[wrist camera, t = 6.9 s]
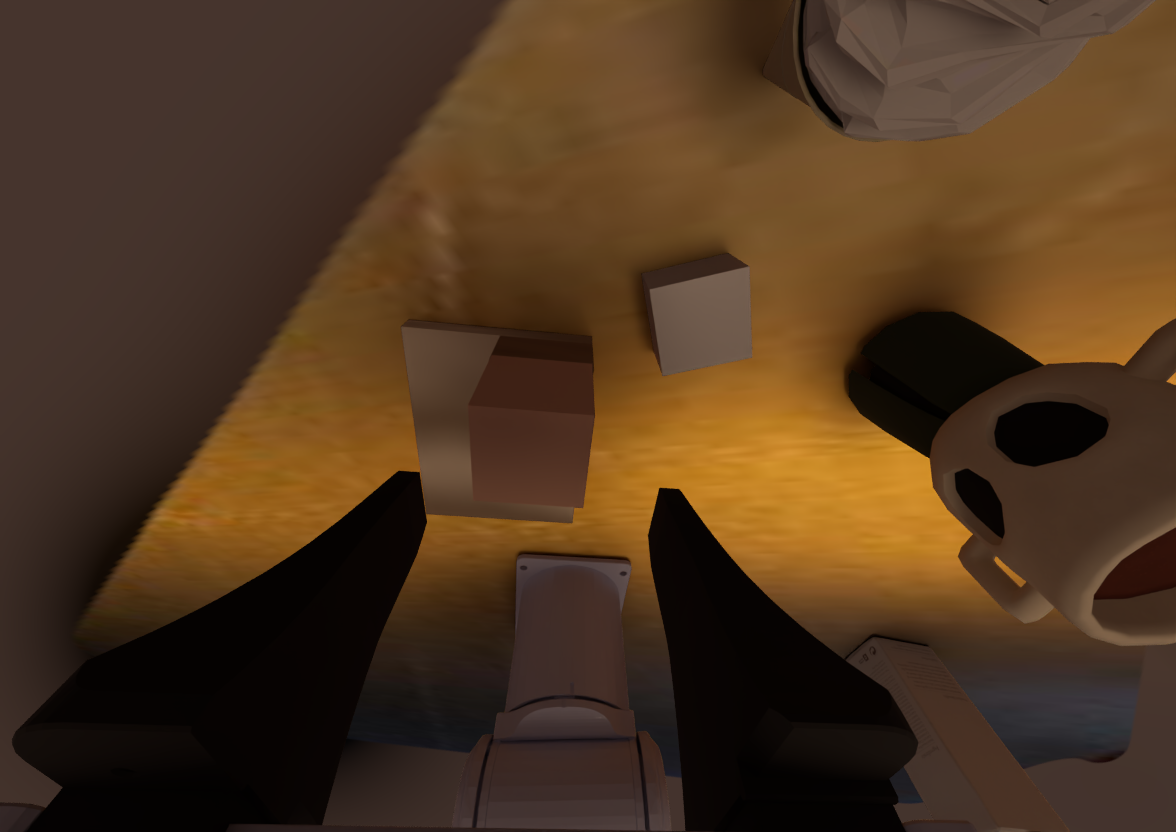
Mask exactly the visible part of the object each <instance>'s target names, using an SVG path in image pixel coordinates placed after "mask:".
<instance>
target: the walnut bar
mask: <svg viewBox="0 0 1176 832" xmlns="http://www.w3.org/2000/svg"><path fill="white" fill-rule="evenodd" d="M491 355H498V356H509V357H520V358H532V359H543V360H555V361H566V362H578V363H589V364H592V368H593V371H594V364H593V345H592V344H587V343H576V342H565V341H554V340H543V339H532V338H521V337H510V336H500V337H499V339H498V341H497V343H496V346H495V348H494V350H493V352H492V354H491ZM490 357H491V356H490ZM489 359H490V358H489Z"/></svg>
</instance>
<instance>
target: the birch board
mask: <svg viewBox="0 0 1176 832" xmlns="http://www.w3.org/2000/svg"><path fill="white" fill-rule="evenodd" d="M401 330H402V338H403V345H404V352H405V360H406V367H407V374H408V382H409V389H410V396H411V404H412V411H413V418H414V426H415V433H416V440H417V448H418V455H419V462H420V470H421V477H422V484H423V492H424V499H425V506H426V514H434V515H450V516H465V517H481V518H497V519H512V520H528V521H544V522H559V523H572V522H573V513H574V507H560V506H545V505H530V504H515V503H500V502H485V501H473V489H472V471H471V453H470V435H469V418H468V404H469V402H470V400H471V398H472V395H473V393H474V391H475V389H476V387H477V385H478V383H479V381H480V378H481V376H482V374H483V372H484V370H485V368H486V366H487V364H488V361H489V358H490V356H491V354H492V352H493V350H494V348H495V346H496V343H497V341H498V339H499V337H500V336H510V337H521V338H532V339H543V340H554V341H565V342H576V343H587V344H592V337H591V336H580V335H569V334H559V333H548V332H537V331H526V330H515V329H504V328H493V327H482V326H471V325H460V324H449V323H438V322H427V321H417V320H408V321H407V322H406V323H405V324H403V325H402V326H401Z"/></svg>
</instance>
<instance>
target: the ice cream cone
mask: <svg viewBox="0 0 1176 832" xmlns="http://www.w3.org/2000/svg"><path fill="white" fill-rule="evenodd" d="M1154 1H1156V0H793V2H792V4H791V7H790V9H789V11H788V13H787V16H786V18H785V20H784V22H783V25H782V27H781V29H780V32H779V34H778V36H777V38H776V41H775V43H774V45H773V47H772V50H771V52H770V54H769V56H768V59H767V61H766V63H765V65H764V68H763V75H764V77H765V78H767V79H768V80H770V81H771V82H773V83H774V84H776V85H777V86H779V87H780V88H782V89H783V90H785V91H786V92H788V93H789V94H791V95H792V96H793V97H795V98H797V99H799V100H801V101H802V102H804V103H805V104H807V105H808V106H810V107H811V108H812V110H813V111H814V113H815V114H816V115H817V116H818V117H819V118H820V119H821V120H822V121H823V122H824V123H825V124H826V125H827V126H828V127H829V128H831V129H833V130H834V131H836V132H838V133H839V134H841V135H843V136H846V137H849V138H852V139H855V140H859V141H872V142H880V141H887V140H902V141H925V140H932V139H938V138H945V137H951V136H958V135H964V134H970V133H972V132H973V131H975V130H976V129H978V128H979V127H981V126H982V125H984V124H986V123H987V122H989V121H990V120H992V119H993V118H995V117H997V116H998V115H1000V114H1001V113H1003V112H1004V111H1006V110H1007V109H1009V108H1011V107H1012V106H1014V105H1015V104H1017V103H1018V102H1020V101H1022V100H1023V99H1025V98H1026V97H1028V96H1029V95H1031V94H1032V93H1034V92H1036V91H1037V90H1039V89H1040V88H1042V87H1043V86H1045V85H1047V84H1048V83H1050V82H1051V81H1053V80H1054V79H1055V78H1056V77H1057V76H1058V75H1059V74H1061V73H1062V72H1063V71H1064V70H1065V69H1066V68H1067V67H1068V66H1069V65H1070V64H1071V63H1072V62H1073V60H1074V59H1075V58H1076V56H1077V55H1078V54H1079V52H1080V51H1081V50H1082V48H1083V47H1084V46H1085V44H1086V43H1087V42H1088V40H1089V39H1090V38H1092V37H1097V36H1102V35H1108V34H1113V33H1115V32H1116V31H1118V30H1119V29H1121V28H1122V27H1124V26H1126V25H1127V24H1128V23H1130V22H1131V21H1132V20H1133V19H1134V18H1136V17H1137V16H1138V15H1139V14H1140V13H1141V12H1143V11H1144V10H1145V9H1146V8H1147V7H1148V6H1150V5H1151V4H1152V3H1153V2H1154Z"/></svg>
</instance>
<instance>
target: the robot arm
mask: <svg viewBox="0 0 1176 832" xmlns="http://www.w3.org/2000/svg"><path fill="white" fill-rule="evenodd" d="M426 524H427V519H426V512H425V506H424V499H423V492H422V485H421V479H420V472H409V471H398V472H397V473H395V474H394V475H393V476H392V477H391V478H389V479H388V480H387V481H386V482H385V483H383V484H382V485H381V486H380V487H379V488H378V489H376V490H375V491H374V492H373V493H372V494H371V495H369V496H368V497H367V498H366V499H365V500H363V501H362V502H361V503H360V504H359V505H357V506H356V507H355V508H354V509H353V510H351V511H350V512H349V513H348V514H346V515H345V516H344V517H343V518H342V519H340V520H339V521H338V522H337V523H335V524H334V525H333V526H331V527H330V528H329V529H327V530H326V531H325V532H323V533H322V534H321V535H319V536H318V537H317V538H315V539H314V540H313V541H311V542H310V543H309V544H307V545H306V546H304V547H303V548H301V549H300V550H298V551H297V552H296V553H294V554H293V555H291V556H290V557H288V558H286V559H285V560H283V561H282V562H280V563H279V564H277V565H276V566H274V567H272V568H271V569H269V570H268V571H266V572H264V573H263V574H261V575H259V576H258V577H256V578H254V579H252V580H251V581H249V582H247V583H245V584H244V585H242V586H240V587H238V588H237V589H235V590H233V591H231V592H230V593H228V594H226V595H224V596H223V597H221V598H219V599H217V600H215V601H213V602H211V603H209V604H208V605H206V606H204V607H202V608H200V609H198V610H196V611H194V612H192V613H190V614H188V615H186V616H184V617H182V618H180V619H178V620H176V621H174V622H172V623H170V624H168V625H166V626H163V627H161V628H159V629H157V630H155V631H153V632H151V633H148V634H146V635H144V636H142V637H139V638H137V639H135V640H133V641H130V642H128V643H126V644H124V645H121V646H119V647H117V648H114V649H112V650H110V651H108V652H105V653H103V654H101V655H98V656H96V657H94V658H91V659H89V660H87V661H86V662H85V663H84V664H83V665H81V666H80V667H79V668H78V669H77V670H76V671H75V672H74V673H73V674H72V675H71V676H70V677H69V678H68V680H66V682H65V683H64V684H62V686H61V687H60V688H59V689H58V690H57V691H56V692H55V693H54V694H53V695H52V696H51V697H50V698H49V699H48V700H47V701H46V702H45V703H44V704H43V705H42V706H41V707H40V708H39V709H38V710H37V711H36V712H35V713H34V714H33V715H32V716H31V717H30V718H29V719H28V720H27V721H26V722H25V723H24V724H23V725H22V726H21V727H20V728H19V729H18V730H17V731H16V732H15V734H14V736H13V738H12V745H13V747H14V750H15V752H16V753H17V754H18V755H19V756H20V757H21V758H22V759H23V760H25V761H26V762H27V763H29V764H30V765H31V766H33V767H34V768H36V769H37V770H39V771H40V772H42V773H43V774H44V775H46V776H47V777H49V778H50V779H52V780H53V781H55V782H56V783H58V784H59V785H60V786H62V787H63V788H62V789H61V791H60V792H59V793H58V794H57V795H56V797H55V798H54V799H53V800H52V801H51V803H50V804H49V805H48V806H47V807H46V808H45V807H42V806H38V805H34V804H27V803H5V802H0V832H977V830H976V828H975V827H974V825H973V824H972V823H970V822H968V821H966V820H912V821H908V822H904V823H901V821H900V819H899V817H898V815H897V812H896V810H895V808H894V806H893V805H895V804H897V803H898V796H897V794H896V792H895V790H894V788H893V786H892V784H891V782H890V780H889V778H891V777H892V776H893V775H894V774H895V773H896V772H898V771H899V770H900V769H901V768H902V767H904V766H905V765H906V764H907V763H908V762H909V761H910V760H911V759H912V758H913V757H914V756H915V754H916V751H917V747H918V743H919V742H918V740H917V738H916V736H915V734H914V732H913V731H912V729H911V727H910V725H909V724H908V722H907V720H906V718H905V716H904V715H903V713H902V711H901V709H900V708H899V706H898V705H897V703H896V701H895V700H894V698H893V697H892V695H891V694H890V692H889V691H888V689H886V688H885V687H883V686H882V685H880V684H879V683H877V682H876V681H874V680H873V679H872V678H870V677H869V676H867V675H866V674H864V673H863V672H861V671H860V670H858V669H857V668H856V667H854V666H853V665H851V664H850V663H848V662H847V661H845V660H844V659H843V658H841V657H840V656H839V655H837V654H836V653H835V652H833V651H832V650H831V649H829V648H828V647H827V646H825V645H824V644H823V643H822V642H820V641H819V640H818V639H816V638H815V637H814V636H813V635H811V634H810V633H809V632H808V631H806V630H805V629H804V628H803V627H802V626H800V625H799V624H798V623H797V622H796V621H795V620H793V619H792V618H791V617H790V616H789V615H788V614H787V613H785V612H784V611H783V610H782V609H781V608H780V607H779V606H778V605H776V604H775V603H774V602H773V601H772V600H771V599H770V598H769V597H768V596H767V595H766V594H765V593H764V592H763V591H762V590H761V589H760V588H759V587H758V586H757V585H756V584H755V583H754V582H753V581H752V580H751V579H750V578H749V577H748V576H747V575H746V574H745V573H744V572H743V571H742V569H741V568H740V567H739V566H738V565H737V564H736V563H735V561H734V560H733V559H732V558H731V557H730V556H729V554H728V553H727V552H726V551H725V550H724V548H723V547H722V546H721V545H720V543H719V542H718V541H717V540H716V538H715V537H714V536H713V535H712V533H711V532H710V531H709V529H708V528H707V527H706V525H705V524H704V523H703V521H702V520H701V519H700V517H699V516H698V514H697V513H696V512H695V510H694V509H693V507H692V506H691V505H690V503H689V502H688V500H687V499H686V498H685V496H684V495H683V493H682V492H681V491H680V490H679V489H670V488H659V492H658V496H657V500H656V504H655V509H654V513H653V517H652V521H651V525H650V529H649V534H648V539H649V551H650V561H651V568H652V573H653V578H654V583H655V588H656V592H657V597H658V601H659V606H660V611H661V615H662V620H663V624H664V629H665V634H666V638H667V644H668V650H669V656H670V664H671V673H672V681H673V689H674V699H675V708H676V718H677V728H678V739H679V750H680V761H681V773H682V787H683V800H684V815H685V830H686V831H671V820H670V811H669V802H668V794H667V786H666V780H665V773H664V768H663V762H662V758H661V754H660V750H659V747H658V746H657V744H656V743H655V742H654V741H653V740H652V739H651V738H650V736H649V734H648V733H647V732H646V731H641V732H636V733H635V723H634V712H633V711H632V710H629V702H628V691H627V679H626V667H625V655H624V644H623V632H622V620H621V612H622V607H623V603H624V599H625V594H626V590H627V586H628V582H629V577H630V573H631V563H630V562H629V561H627V560H616V559H599V558H582V557H565V556H548V555H531V554H522V555H519V556H518V558H517V565H516V623H515V635H516V636H515V644H514V651H513V658H512V665H511V672H510V679H509V686H508V693H507V700H506V707H505V713H498V714H497V718H496V724H495V730H494V735H490V734H486V735H484V736H482V737H481V738H480V740H479V741H478V743H477V744H476V746H475V747H474V748H473V749H472V750H471V752H470V753H469V755H468V758H467V760H466V763H465V766H464V769H463V772H462V776H461V780H460V784H459V789H458V793H457V798H456V804H455V810H454V816H453V823H452V827H404V826H403V827H402V826H401V827H400V826H399V827H397V826H341V825H322V823H323V819H324V816H325V812H326V808H327V804H328V801H329V797H330V794H331V790H332V786H333V783H334V779H335V775H336V772H337V768H338V764H339V761H340V758H341V754H342V751H343V748H344V745H345V741H346V738H347V735H348V731H349V728H350V725H351V721H352V718H353V715H354V712H355V709H356V706H357V703H358V700H359V696H360V693H361V690H362V687H363V684H364V681H365V678H366V675H367V672H368V669H369V666H370V663H371V661H372V658H373V655H374V652H375V649H376V646H377V643H378V641H379V638H380V636H381V633H382V631H383V628H384V626H385V624H386V621H387V619H388V617H389V615H390V613H391V610H392V608H393V606H394V604H395V602H396V600H397V597H398V595H399V593H400V591H401V589H402V586H403V584H404V582H405V580H406V578H407V576H408V573H409V571H410V569H411V567H412V564H413V562H414V560H415V558H416V555H417V553H418V550H419V547H420V544H421V540H422V537H423V534H424V530H425V527H426ZM523 565H524V566H523Z"/></svg>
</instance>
